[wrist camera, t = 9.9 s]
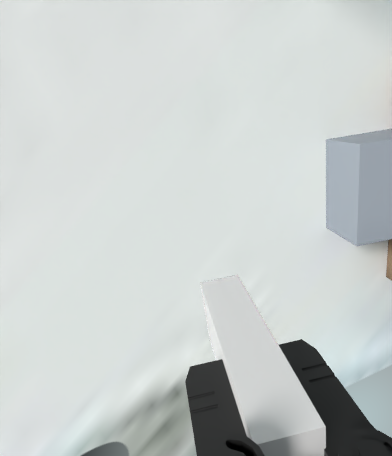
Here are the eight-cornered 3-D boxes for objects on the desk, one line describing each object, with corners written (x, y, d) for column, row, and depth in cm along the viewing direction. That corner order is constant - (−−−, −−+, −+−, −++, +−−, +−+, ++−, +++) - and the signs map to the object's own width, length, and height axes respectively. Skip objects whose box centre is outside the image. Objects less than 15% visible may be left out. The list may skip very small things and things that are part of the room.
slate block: (325, 139, 35) (360, 144, 29) (394, 128, 36) (441, 130, 30) (325, 226, 38) (356, 246, 33) (388, 214, 39) (429, 231, 33)
